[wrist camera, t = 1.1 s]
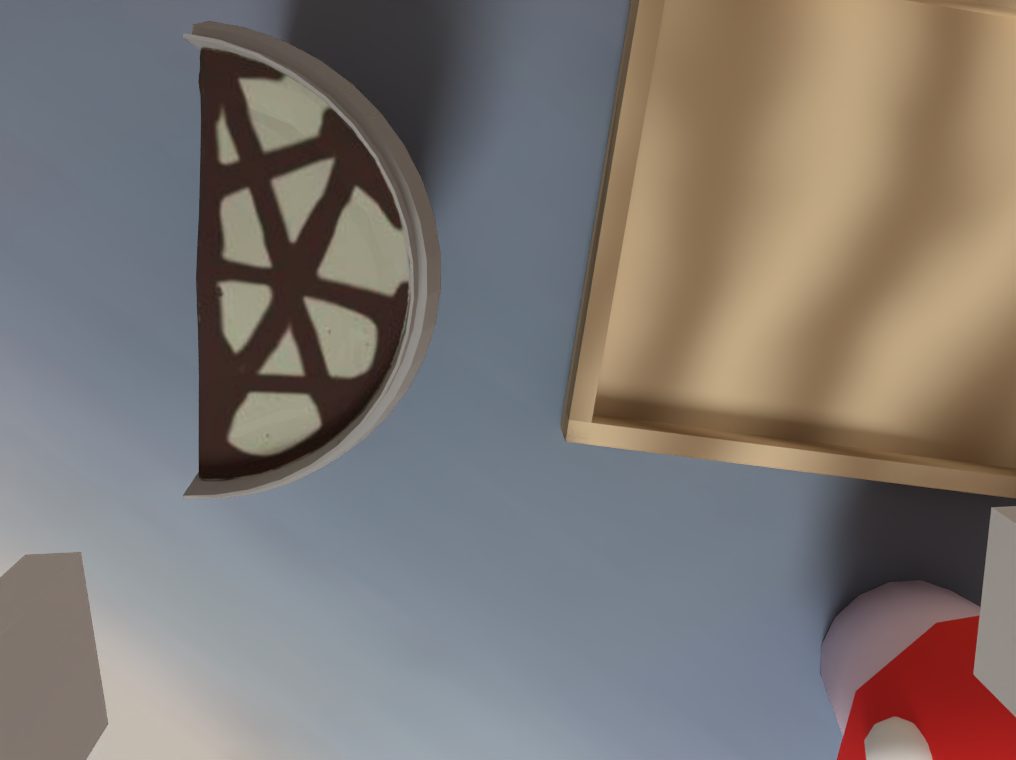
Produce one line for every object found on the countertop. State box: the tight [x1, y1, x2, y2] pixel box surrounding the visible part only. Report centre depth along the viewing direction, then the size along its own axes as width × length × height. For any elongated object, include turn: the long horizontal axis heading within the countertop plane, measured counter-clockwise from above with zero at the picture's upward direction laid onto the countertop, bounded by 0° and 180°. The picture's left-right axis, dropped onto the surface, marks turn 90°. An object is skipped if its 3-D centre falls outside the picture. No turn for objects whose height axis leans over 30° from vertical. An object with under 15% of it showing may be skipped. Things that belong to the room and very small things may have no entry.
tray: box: [561, 0, 1016, 498], centre depth 31 cm, size 20×17×2 cm
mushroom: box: [820, 580, 1016, 760], centre depth 30 cm, size 11×11×12 cm
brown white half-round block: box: [183, 21, 441, 499], centre depth 27 cm, size 12×6×10 cm, turn 175°
